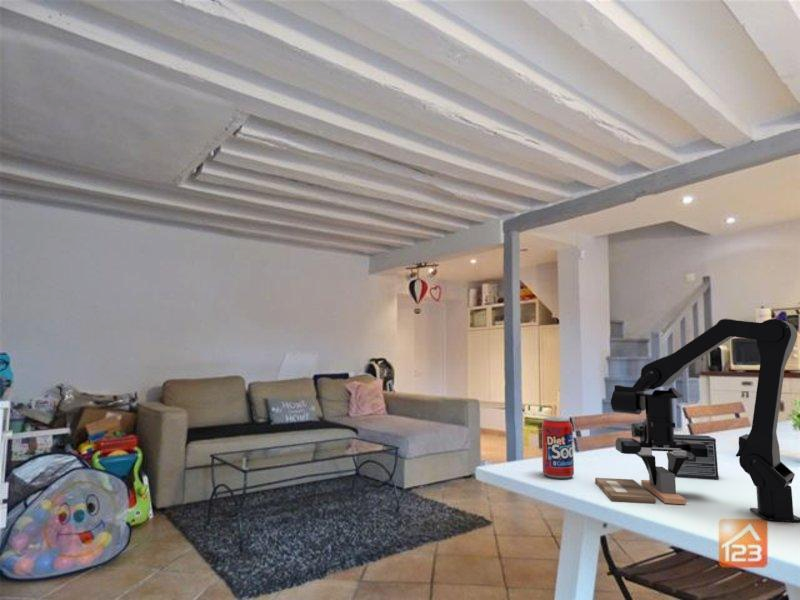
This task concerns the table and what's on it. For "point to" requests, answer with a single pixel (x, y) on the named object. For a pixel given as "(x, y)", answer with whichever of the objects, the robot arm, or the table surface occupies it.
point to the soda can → (557, 447)
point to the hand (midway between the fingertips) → (662, 485)
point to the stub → (664, 487)
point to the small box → (699, 459)
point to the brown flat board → (624, 490)
